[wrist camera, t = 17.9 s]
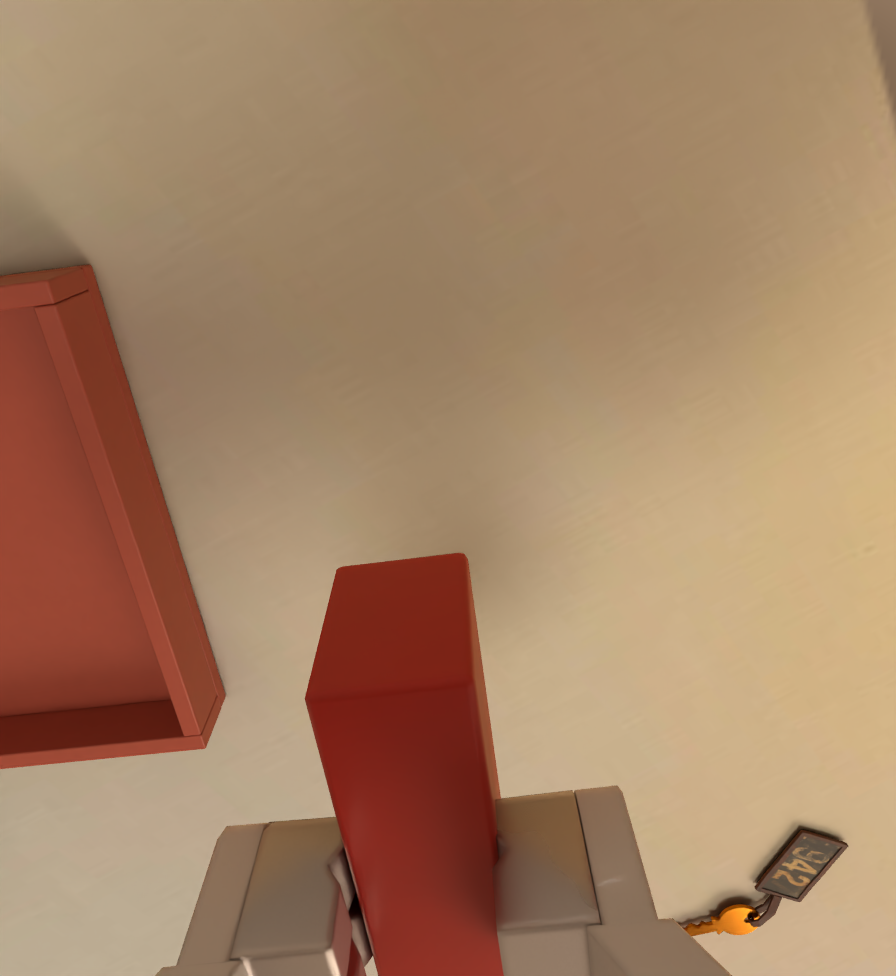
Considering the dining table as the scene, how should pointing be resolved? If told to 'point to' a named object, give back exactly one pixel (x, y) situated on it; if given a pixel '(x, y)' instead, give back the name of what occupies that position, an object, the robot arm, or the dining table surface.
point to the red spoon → (411, 762)
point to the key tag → (779, 884)
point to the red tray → (87, 548)
